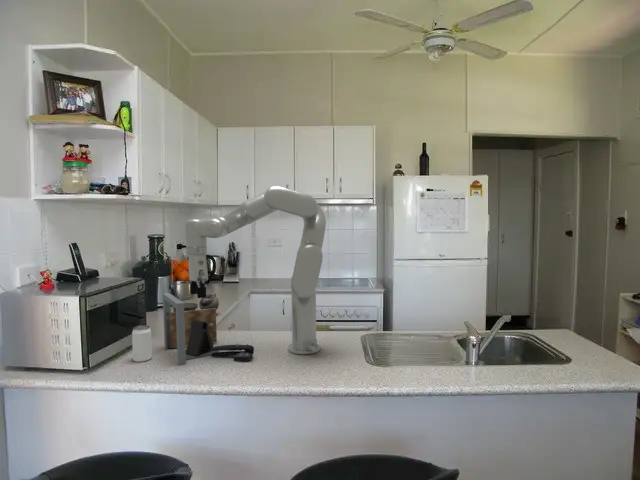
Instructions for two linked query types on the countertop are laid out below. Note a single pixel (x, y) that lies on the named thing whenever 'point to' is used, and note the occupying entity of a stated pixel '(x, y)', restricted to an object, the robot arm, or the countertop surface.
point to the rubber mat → (200, 355)
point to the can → (141, 343)
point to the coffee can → (189, 307)
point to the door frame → (180, 324)
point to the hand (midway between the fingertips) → (198, 295)
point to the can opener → (234, 352)
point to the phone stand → (199, 339)
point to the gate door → (190, 316)
